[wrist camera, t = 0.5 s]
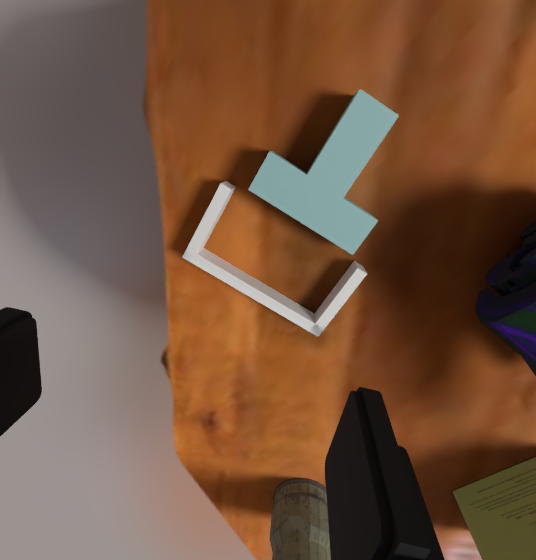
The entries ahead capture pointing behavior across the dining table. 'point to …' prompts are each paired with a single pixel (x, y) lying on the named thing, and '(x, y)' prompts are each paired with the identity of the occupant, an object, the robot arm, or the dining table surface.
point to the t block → (330, 176)
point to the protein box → (502, 512)
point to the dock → (258, 289)
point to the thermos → (300, 521)
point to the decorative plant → (513, 299)
